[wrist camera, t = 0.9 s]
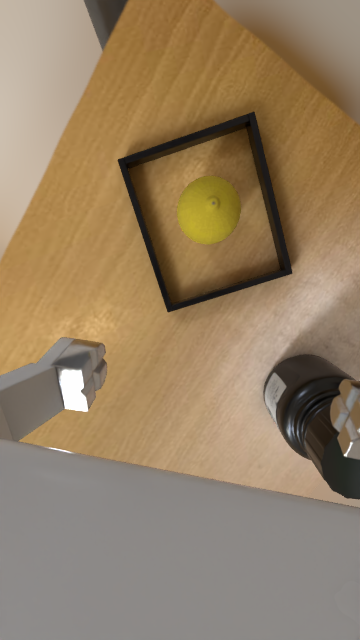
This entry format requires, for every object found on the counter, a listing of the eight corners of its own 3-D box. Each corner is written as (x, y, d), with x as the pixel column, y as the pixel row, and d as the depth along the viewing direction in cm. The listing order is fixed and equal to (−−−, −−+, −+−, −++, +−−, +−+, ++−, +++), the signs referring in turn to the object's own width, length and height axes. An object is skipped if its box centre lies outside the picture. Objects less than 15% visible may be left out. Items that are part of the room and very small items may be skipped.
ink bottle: (246, 375, 33) (283, 438, 21) (316, 335, 32) (396, 379, 20) (286, 440, 34) (340, 533, 23) (353, 404, 34) (447, 482, 22)
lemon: (177, 246, 30) (176, 240, 22) (177, 188, 29) (176, 162, 21) (230, 246, 30) (248, 241, 22) (233, 189, 29) (252, 162, 21)
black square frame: (120, 164, 28) (117, 159, 27) (250, 119, 28) (254, 111, 26) (168, 310, 31) (167, 312, 30) (287, 272, 31) (292, 273, 29)
